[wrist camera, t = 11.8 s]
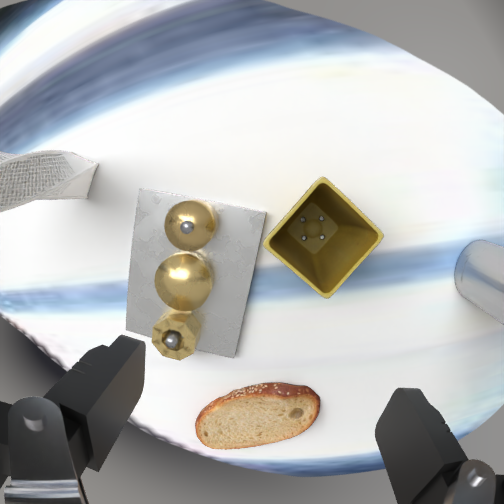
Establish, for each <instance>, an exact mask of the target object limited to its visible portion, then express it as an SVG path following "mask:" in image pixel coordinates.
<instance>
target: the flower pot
mask: <svg viewBox="0 0 504 504" xmlns="http://www.w3.org/2000/svg"><path fill="white" fill-rule="evenodd" d="M320 216H322V217H323V218H324V220H323V221H320V220H319V218H320ZM302 217H304V218H305V221H304V222H302V221H301V218H302ZM321 235H324V239H321V238H320V236H321ZM303 236H306V240H302V237H303ZM383 237H384V234H383V233H382V231H381V230H380V229H379V228H378V227H377V226H376V225H375V224H374V223H372V221H371V220H370V219H368V218H367V217H366V216H365V215H364V214H363V213H362V212H361V211H360V210H359V209H358V208H357V207H356V206H355V205H354V204H353V203H352V202H351V201H350V200H349V199H348V198H347V197H346V196H345V195H344V194H343V193H342V192H341V191H340V190H339V189H337V188H336V187H335V186H334V185H333V184H332V183H331V182H330V181H329V180H328V179H326V178H325V177H320V178H319V179H317V180H316V182H315V183H314V184H313V185H312V186H311V187H310V188H309V189H308V190H307V192H306V193H305V194H304V195H303V196H302V197H301V199H300V200H299V201H298V202H297V203H296V204H295V205H294V207H293V208H292V209H291V210H290V211H289V212H288V213H287V214H286V216H285V217H284V218H283V219H282V220H281V221H280V222H279V223H278V225H277V226H276V227H275V228H274V229H273V230H272V231H271V232H270V233H269V235H268V236H267V237H266V238H265V240H264V242H263V246H264V247H265V248H266V249H267V250H268V251H269V252H270V253H272V254H273V255H274V256H275V257H276V258H278V259H279V260H280V261H281V262H282V263H284V264H285V265H286V266H287V267H288V268H290V269H291V270H292V271H293V272H294V273H295V274H297V275H298V276H299V277H300V278H301V279H302V280H304V281H305V282H306V283H307V284H308V285H309V286H310V287H311V288H313V289H314V290H315V291H316V292H317V293H318V294H320V295H321V296H322V297H324V298H326V299H328V298H330V297H331V296H332V295H333V294H334V293H335V292H336V291H337V289H338V288H339V287H340V286H341V285H342V284H343V282H344V281H345V280H346V279H347V278H348V277H349V276H350V275H351V273H352V272H353V271H354V270H355V269H356V268H357V267H358V266H359V265H360V264H361V262H362V261H363V260H364V259H365V258H366V257H367V256H368V255H369V254H370V253H371V252H372V251H373V249H374V248H375V247H376V246H377V245H378V244H379V243H380V242H381V240H382V238H383Z"/></svg>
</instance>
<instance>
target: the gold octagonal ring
mask: <svg viewBox="0 0 504 504" xmlns="http://www.w3.org/2000/svg"><path fill="white" fill-rule="evenodd" d="M201 326H202V325H201V324H200V323H199V321H198V320H197V319H196V317H195V316H194V315H193V313H192V312H191V311H179V310H175V309H171V310H169V311H168V312H166V313H165V314H163V315H162V316H161V317H160V318H159V319H158V321H157V322H156V323H155V325H154V326H153V330H152V343H153V345H154V346H155V347H156V348H157V349H158V351H159V352H160V353H161V354H162V356H165V357H168V358H172V359H176V360H182V359H184V358H186V357H188V356H189V355H191V354H193V353H194V351H195V349H196V347H197V344H198V342H199V339H200V332H201ZM170 329H172V330H176V331H179V332H180V333H181V335H182V336H183V337H184V338H180V339H179V341H178V343H177V344H176V346H175V347H174V348H169V347H168V346H167V345H166V344H165V341H166V339H167V337H168V336H169V334H170V333H171V330H170Z"/></svg>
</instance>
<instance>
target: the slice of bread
mask: <svg viewBox="0 0 504 504" xmlns="http://www.w3.org/2000/svg"><path fill="white" fill-rule="evenodd" d="M319 409H320V397H319V396H318V395H317V394H316V393H315V392H314V391H313V390H312V389H311V388H309V387H308V386H295V385H289V384H285V383H262V384H258V385H252V386H248V387H244V388H241V389H237V390H234V391H232V392H230V393H229V394H228V395H226V396H223V397H219V398H217V399H216V400H214V401H212V402H211V403H210V404H208V405H207V406H206V407H205V408H203V409H202V411H201V412H200V414H199V415H198V417H197V419H196V422H195V427H196V434H197V437H198V438H199V440H200V441H201V442H202V443H203V444H204V445H205V446H207V447H210V448H212V449H225V450H226V449H233V448H235V449H240V448H248V447H255V446H260V445H264V444H269V443H274V442H278V441H282V440H285V439H290V438H292V437H294V436H297V435H299V434H301V433H302V432H304V431H305V430H307V429H308V428H309V427H310V426H311V425H312V424H313V422H314V421H315V420H316V418H317V416H318V414H319Z"/></svg>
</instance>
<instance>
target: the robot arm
mask: <svg viewBox="0 0 504 504" xmlns="http://www.w3.org/2000/svg"><path fill="white" fill-rule="evenodd" d="M455 283H456V287H457V289H458V291H459V293H460V294H461V295H462V296H463V297H465V298H466V299H468V300H469V301H471V302H472V303H474V304H475V305H477V306H478V307H479V308H481V309H482V310H484V311H485V312H487V313H488V314H490V315H491V316H492V317H494V318H495V319H497V320H498V321H499V322H501V323H502V324H504V247H502V246H500V245H497V244H494V243H491V242H488V241H485V240H476V241H474V242H472V243H470V244H469V245H468V246H467V247H466V248H465V249H464V250H463V252H462V253H461V255H460V257H459V259H458V262H457V265H456V269H455ZM145 351H146V345H145V342H144V341H141V340H137V339H134V338H131V337H128V336H125V335H120V336H119V337H118V338H117V339H116V340H115V341H114V342H113V343H112V344H111V345H110V346H109V347H108V346H105V345H100V346H98V347H96V348H93V349H91V350H89V351H88V352H87V353H86V354H85V355H84V356H83V357H82V358H81V359H80V360H79V362H77V363H76V364H75V365H74V366H73V367H72V369H70V370H69V371H68V372H67V373H66V374H65V375H64V376H63V377H62V378H61V379H60V380H59V381H58V382H57V383H56V384H55V385H54V386H53V387H52V388H51V389H50V390H49V391H48V393H47V394H46V395H45V396H44V397H43V398H42V397H35V396H32V397H25V398H22V399H20V400H18V401H16V402H15V403H14V404H13V405H12V404H8V403H5V402H1V401H0V488H1V487H2V485H3V484H4V482H5V480H6V479H7V477H8V476H11V485H10V486H6V487H5V491H4V499H5V504H89V502H88V499H87V496H86V492H85V490H84V486H83V483H82V480H81V475H82V473H83V471H84V470H85V468H86V467H88V468H90V469H93V470H95V471H97V472H99V470H100V468H101V467H102V465H103V463H104V461H105V459H106V458H107V456H108V454H109V452H110V450H111V448H112V446H113V445H114V443H115V441H116V440H117V438H118V436H119V434H120V432H121V431H122V429H123V427H124V425H125V424H126V422H127V420H128V418H129V417H130V415H131V413H132V411H133V410H134V408H135V406H136V404H137V403H138V401H139V399H140V397H141V394H142V391H143V387H144V374H145ZM375 438H376V441H377V444H378V447H379V450H380V452H381V455H382V458H383V461H384V464H385V467H386V470H387V472H388V476H389V479H390V482H391V485H392V488H393V491H394V494H395V497H396V500H397V503H398V504H504V475H495V473H494V471H493V469H492V468H491V467H490V466H489V465H487V464H486V463H485V462H483V461H480V460H475V459H472V460H468V458H467V456H466V455H465V453H464V451H463V450H462V448H461V446H460V445H459V443H458V441H457V440H456V438H455V436H454V435H453V433H452V432H450V428H449V427H448V425H447V424H445V420H444V419H443V417H442V415H441V414H440V412H439V411H438V410H436V409H435V408H434V407H433V406H432V405H431V404H430V403H429V402H428V401H427V399H426V397H425V396H424V394H423V393H422V391H421V390H420V389H417V388H398V389H396V390H395V391H394V393H393V395H392V397H391V399H390V400H389V402H388V404H387V406H386V408H385V410H384V411H383V413H382V415H381V417H380V418H379V420H378V422H377V425H376V429H375Z"/></svg>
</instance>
